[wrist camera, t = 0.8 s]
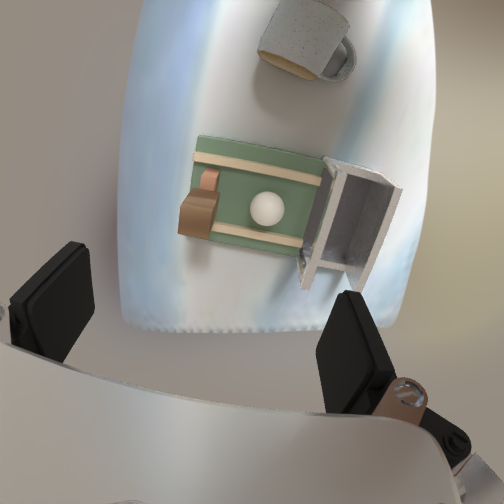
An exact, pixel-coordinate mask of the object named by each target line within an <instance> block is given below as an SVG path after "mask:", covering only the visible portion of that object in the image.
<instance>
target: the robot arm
mask: <svg viewBox="0 0 504 504" xmlns="http://www.w3.org/2000/svg"><path fill="white" fill-rule="evenodd" d="M10 303H11V305H10V306H9V307H7V306H6V305H5V304H3V303H1V302H0V504H502V502H503V500H504V483H503V481H502V480H501V479H500V478H499V477H498V476H497V475H496V474H495V472H494V471H493V470H492V469H491V468H490V467H489V466H488V465H487V464H486V463H485V462H484V461H483V460H482V458H481V457H480V456H479V455H478V454H477V453H476V452H475V453H474V454H473V455H472V454H471V453H470V452H471V441H470V439H469V437H468V436H467V434H466V433H465V432H464V431H463V430H461V429H460V428H458V427H457V426H455V425H454V424H452V423H451V422H449V421H447V420H446V419H444V418H443V417H441V416H440V415H438V414H436V413H435V412H433V411H432V410H430V409H429V408H427V407H426V406H427V402H428V396H427V393H426V391H425V389H424V388H423V387H422V386H421V385H420V384H419V383H418V382H416V381H415V380H413V379H410V378H405V377H400V378H397V376H396V373H395V369H394V367H393V365H392V362H391V360H390V357H389V355H388V353H387V350H386V348H385V346H384V343H383V341H382V339H381V337H380V334H379V332H378V330H377V327H376V325H375V323H374V321H373V319H372V316H371V314H370V312H369V310H368V308H367V305H366V303H365V301H364V299H363V297H362V295H361V293H360V292H356V291H349V290H345V291H344V292H343V293H339V294H338V296H337V298H336V301H335V303H334V306H333V308H332V311H331V313H330V316H329V318H328V321H327V323H326V326H325V328H324V330H323V333H322V335H321V338H320V340H319V342H318V345H317V348H316V359H317V364H318V370H319V375H320V381H321V386H322V392H323V397H324V403H325V409H326V413H313V412H299V411H286V410H274V409H263V408H255V407H247V406H239V405H232V404H225V403H219V402H212V401H206V400H201V399H195V398H189V397H185V396H179V395H175V394H170V393H165V392H161V391H156V390H152V389H148V388H144V387H140V386H136V385H131V384H128V383H124V382H121V381H117V380H113V379H110V378H106V377H103V376H99V375H96V374H93V373H90V372H87V371H83V370H80V369H77V368H74V367H71V366H68V365H66V364H63V361H64V360H65V358H66V357H67V355H68V353H69V352H70V350H71V348H72V347H73V345H74V344H75V342H76V340H77V339H78V337H79V336H80V334H81V332H82V331H83V329H84V328H85V326H86V325H87V323H88V322H89V320H90V319H91V317H92V315H93V313H94V310H95V304H94V296H93V287H92V278H91V269H90V255H89V250H88V248H86V246H85V244H83V243H78V242H73V241H70V242H69V243H68V244H66V245H65V247H63V248H62V249H61V250H60V251H59V252H58V253H56V254H55V255H54V256H53V257H52V258H51V259H50V260H49V261H48V262H47V263H46V264H44V265H43V266H42V267H41V268H40V269H39V270H38V271H37V272H36V273H35V274H34V275H33V276H32V277H31V278H30V279H29V280H28V281H27V282H26V283H25V284H24V285H23V286H22V287H21V288H20V289H19V290H18V291H17V292H16V293H15V294H14V295H13V296H12V297H11V298H10Z"/></svg>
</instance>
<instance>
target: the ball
mask: <svg viewBox="0 0 504 504" xmlns="http://www.w3.org/2000/svg"><path fill="white" fill-rule="evenodd" d="M284 210H285V208H284V203H283V201H282V199H281V198H280V197H279V196H278V195H277V194H275V193H273V192H268V191H266V192H261V193H259V194H257V195H256V196H255V197H254V198H253V199H252V201H251V204H250V213H251V216H252V218H253V219H254V221H256V222H257V223H258V224H260V225H263V226H272V225H274V224H276V223H278V222H279V221H280V220H281V219H282V217H283V215H284Z"/></svg>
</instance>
